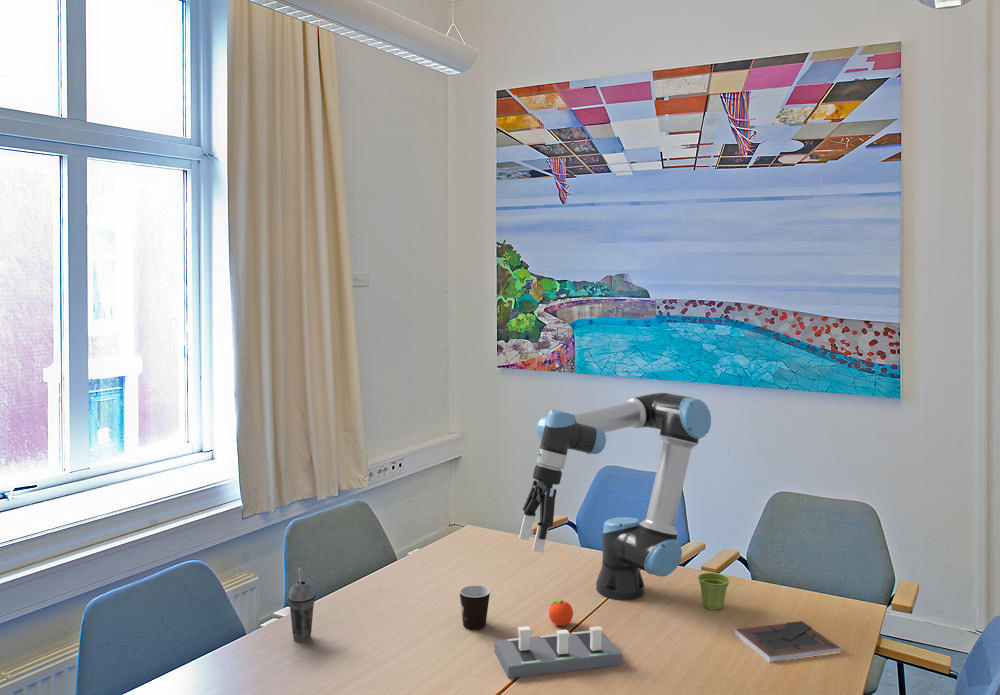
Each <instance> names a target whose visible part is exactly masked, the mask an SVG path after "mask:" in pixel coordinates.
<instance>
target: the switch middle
mask: <svg viewBox="0 0 1000 695" xmlns="http://www.w3.org/2000/svg"><path fill="white" fill-rule="evenodd" d="M555 633H556V635H557V653H558V654H559V655H560V654H568V637H569V633H570V632H569V630H567V629H560V630H559V629H558V630H556V631H555Z"/></svg>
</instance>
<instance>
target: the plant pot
mask: <svg viewBox="0 0 1000 695" xmlns="http://www.w3.org/2000/svg"><path fill="white" fill-rule="evenodd" d="M697 579H698V581H699V586H700V591H701V592H700V593H701V602H702V606H703V607H705V608H707V609H708V608H709V610H713V609H714V611H715V610H718V609H723V608H724V604H725V599H726V593H727V589H728V586H729V584H730V581H731V580H730V577H728V576H727V575H724V574H721V573H716V572H704V573H700V574H698V576H697Z"/></svg>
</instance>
